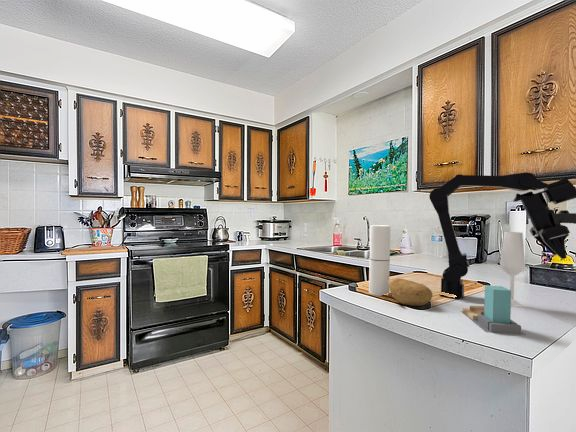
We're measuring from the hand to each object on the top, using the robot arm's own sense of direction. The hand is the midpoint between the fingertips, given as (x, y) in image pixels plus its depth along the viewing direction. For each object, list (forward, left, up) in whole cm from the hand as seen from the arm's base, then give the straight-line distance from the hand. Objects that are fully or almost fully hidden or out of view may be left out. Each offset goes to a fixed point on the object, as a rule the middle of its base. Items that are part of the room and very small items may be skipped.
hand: (559, 256), depth 94 cm
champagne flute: (-11, -3, -17) cm, 21 cm away
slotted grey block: (-12, -31, -17) cm, 37 cm away
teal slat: (-10, -33, -16) cm, 38 cm away
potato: (-34, -29, -17) cm, 48 cm away
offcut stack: (-15, -27, -16) cm, 35 cm away
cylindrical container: (-48, -23, -17) cm, 56 cm away
